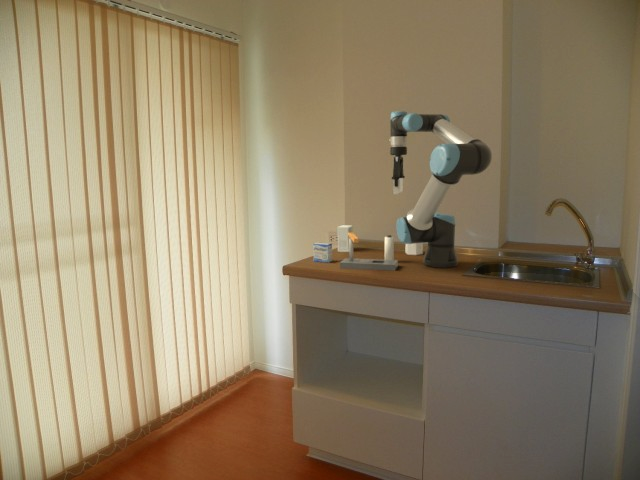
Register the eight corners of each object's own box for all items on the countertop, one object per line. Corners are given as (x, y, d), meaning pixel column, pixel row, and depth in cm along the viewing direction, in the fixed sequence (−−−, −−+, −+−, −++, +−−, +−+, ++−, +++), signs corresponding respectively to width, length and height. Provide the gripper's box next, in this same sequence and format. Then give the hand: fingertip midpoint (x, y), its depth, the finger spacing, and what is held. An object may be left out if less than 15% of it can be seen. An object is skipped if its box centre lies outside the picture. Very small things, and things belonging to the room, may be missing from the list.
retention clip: (359, 242, 201) (359, 238, 200) (352, 242, 200) (352, 238, 200) (353, 236, 218) (353, 232, 218) (347, 236, 218) (347, 232, 217)
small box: (341, 248, 265) (341, 224, 262) (353, 249, 262) (353, 225, 260) (337, 251, 257) (336, 226, 255) (348, 252, 255) (348, 227, 253)
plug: (394, 262, 228) (394, 234, 226) (393, 263, 224) (393, 236, 222) (385, 261, 229) (385, 234, 227) (383, 263, 225) (383, 235, 223)
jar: (413, 255, 242) (413, 231, 240) (401, 253, 249) (402, 230, 247) (426, 253, 247) (426, 230, 245) (414, 251, 254) (415, 228, 252)
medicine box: (313, 261, 232) (312, 243, 231) (317, 260, 236) (317, 242, 235) (328, 263, 229) (327, 244, 227) (332, 261, 233) (332, 243, 231)
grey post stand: (397, 266, 218) (398, 236, 216) (395, 271, 208) (395, 240, 206) (345, 264, 224) (344, 235, 222) (340, 269, 215) (339, 238, 213)
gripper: (393, 147, 237) (393, 191, 240) (386, 145, 213) (386, 194, 217) (409, 146, 235) (409, 191, 238) (403, 145, 211) (403, 194, 215)
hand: (398, 193), depth 228 cm, fingers open, 13 cm apart
